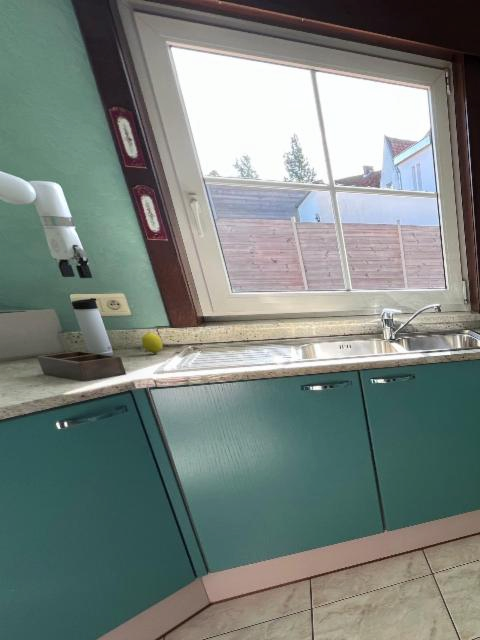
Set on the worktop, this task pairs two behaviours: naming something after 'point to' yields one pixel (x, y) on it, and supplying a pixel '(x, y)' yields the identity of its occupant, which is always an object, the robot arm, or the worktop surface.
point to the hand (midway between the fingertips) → (77, 277)
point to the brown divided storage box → (81, 365)
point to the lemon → (152, 343)
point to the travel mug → (92, 326)
